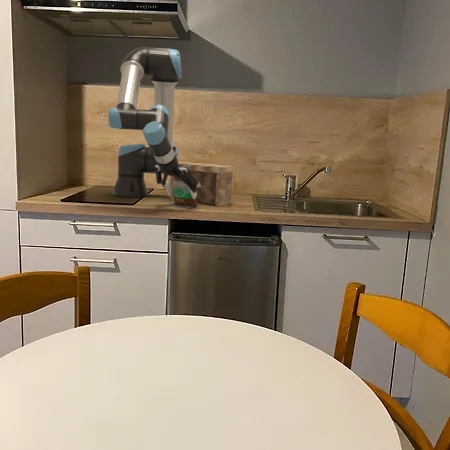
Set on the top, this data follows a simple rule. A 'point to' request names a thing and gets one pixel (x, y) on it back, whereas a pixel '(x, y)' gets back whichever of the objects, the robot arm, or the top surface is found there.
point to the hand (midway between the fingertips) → (183, 195)
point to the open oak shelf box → (209, 182)
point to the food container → (184, 194)
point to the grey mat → (178, 206)
